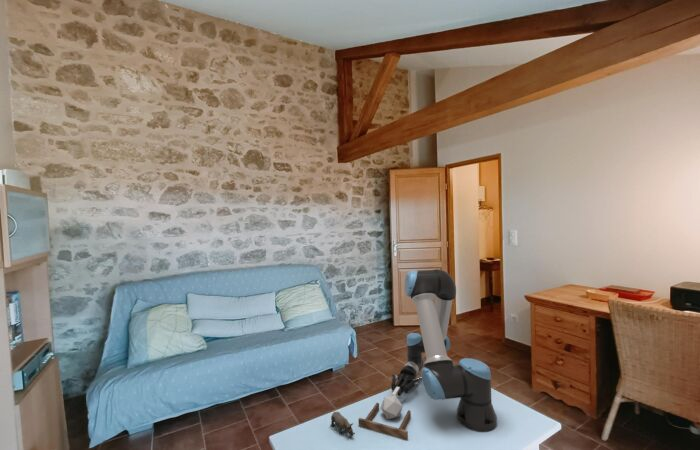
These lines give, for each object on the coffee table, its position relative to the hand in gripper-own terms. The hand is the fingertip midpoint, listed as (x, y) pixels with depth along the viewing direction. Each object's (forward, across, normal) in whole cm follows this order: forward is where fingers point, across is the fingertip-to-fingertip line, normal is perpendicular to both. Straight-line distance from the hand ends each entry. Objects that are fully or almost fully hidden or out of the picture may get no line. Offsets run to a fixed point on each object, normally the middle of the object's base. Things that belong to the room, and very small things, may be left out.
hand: (393, 397), depth 136 cm
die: (+4, 0, -6) cm, 7 cm away
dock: (+9, 0, -6) cm, 10 cm away
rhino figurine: (+21, +14, -6) cm, 26 cm away
